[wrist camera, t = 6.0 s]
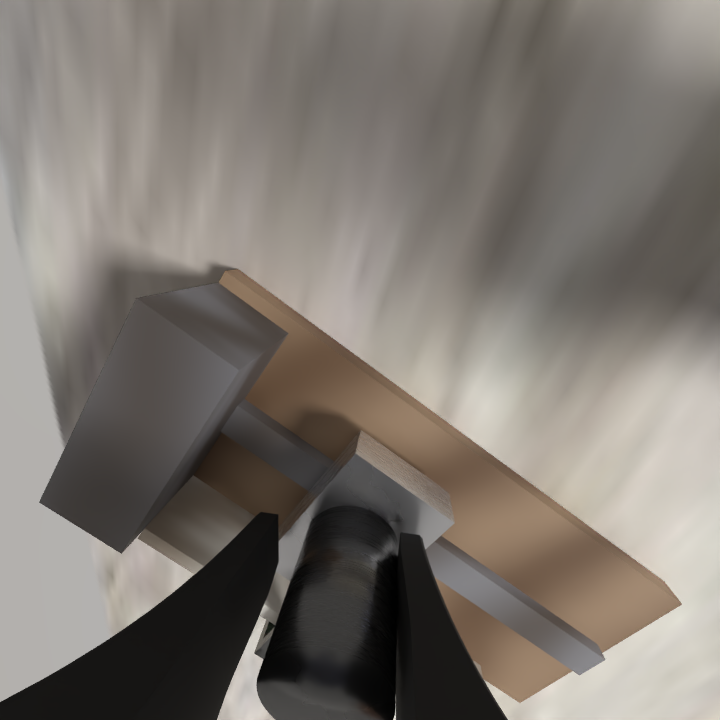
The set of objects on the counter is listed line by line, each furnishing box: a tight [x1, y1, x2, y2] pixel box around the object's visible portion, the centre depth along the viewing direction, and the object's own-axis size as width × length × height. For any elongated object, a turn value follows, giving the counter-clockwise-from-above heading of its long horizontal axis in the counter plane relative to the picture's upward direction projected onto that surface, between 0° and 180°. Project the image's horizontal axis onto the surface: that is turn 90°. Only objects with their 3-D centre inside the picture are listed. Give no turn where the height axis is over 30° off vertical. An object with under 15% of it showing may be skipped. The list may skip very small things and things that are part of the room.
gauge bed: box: [40, 269, 682, 703], centre depth 13 cm, size 22×9×5 cm, turn 54°
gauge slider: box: [254, 430, 455, 720], centre depth 11 cm, size 4×8×6 cm, turn 144°
